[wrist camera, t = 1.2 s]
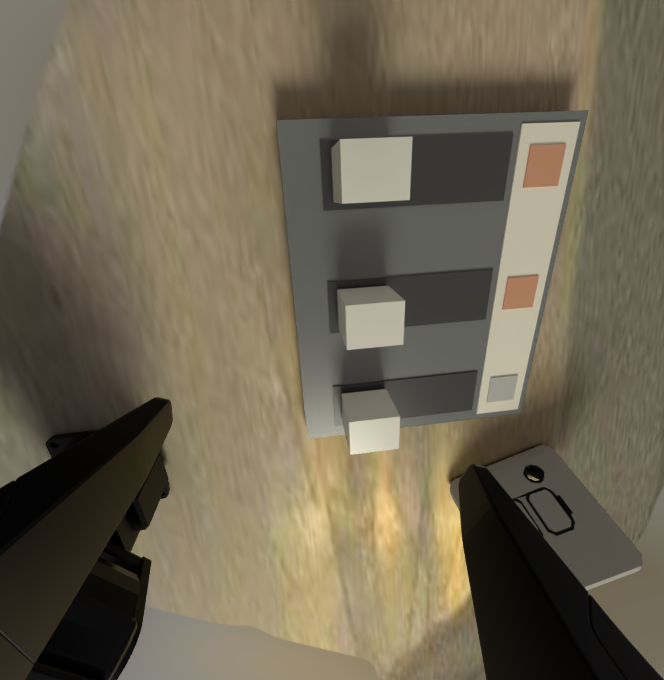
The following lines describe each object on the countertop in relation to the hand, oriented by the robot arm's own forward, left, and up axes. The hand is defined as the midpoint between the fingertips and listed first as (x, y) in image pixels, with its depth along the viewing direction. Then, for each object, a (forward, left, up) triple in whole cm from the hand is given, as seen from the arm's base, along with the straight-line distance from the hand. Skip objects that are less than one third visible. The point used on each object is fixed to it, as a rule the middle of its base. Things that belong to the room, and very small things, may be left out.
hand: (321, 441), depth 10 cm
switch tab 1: (+3, +7, -11) cm, 13 cm away
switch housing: (+7, 0, -12) cm, 15 cm away
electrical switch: (+16, -18, -13) cm, 27 cm away
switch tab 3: (+3, -7, -11) cm, 13 cm away
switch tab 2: (+3, 0, -11) cm, 11 cm away
